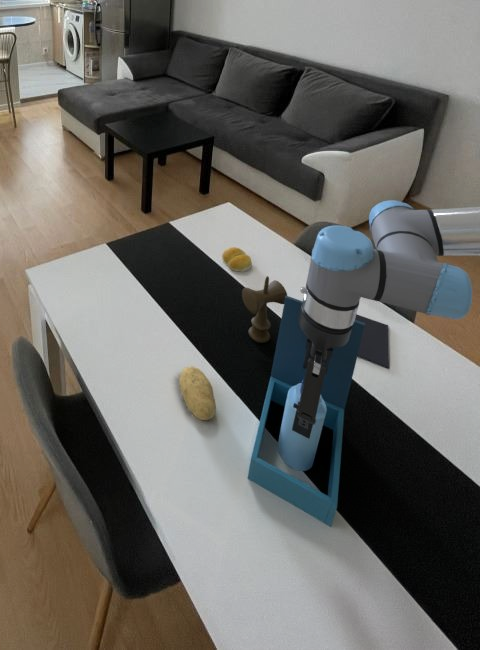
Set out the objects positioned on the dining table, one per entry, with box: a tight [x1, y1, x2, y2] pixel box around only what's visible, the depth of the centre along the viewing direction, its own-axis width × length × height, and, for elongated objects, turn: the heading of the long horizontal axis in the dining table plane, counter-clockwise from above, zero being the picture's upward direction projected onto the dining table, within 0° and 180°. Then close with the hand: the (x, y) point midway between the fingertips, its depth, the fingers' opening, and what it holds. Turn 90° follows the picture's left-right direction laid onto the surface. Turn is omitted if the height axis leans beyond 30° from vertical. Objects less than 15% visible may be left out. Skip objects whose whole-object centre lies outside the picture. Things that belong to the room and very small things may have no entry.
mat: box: [355, 313, 390, 370], centre depth 110 cm, size 14×14×1 cm
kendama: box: [241, 275, 288, 344], centre depth 107 cm, size 6×10×20 cm, turn 106°
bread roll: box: [221, 247, 253, 272], centre depth 136 cm, size 8×9×4 cm
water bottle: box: [277, 379, 327, 472], centre depth 81 cm, size 6×6×20 cm
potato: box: [179, 365, 217, 421], centre depth 95 cm, size 7×11×6 cm, turn 7°
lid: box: [270, 295, 365, 410], centre depth 87 cm, size 20×14×1 cm
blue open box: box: [247, 376, 345, 528], centre depth 83 cm, size 19×14×8 cm
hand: (306, 399), depth 78 cm, fingers open, 13 cm apart
